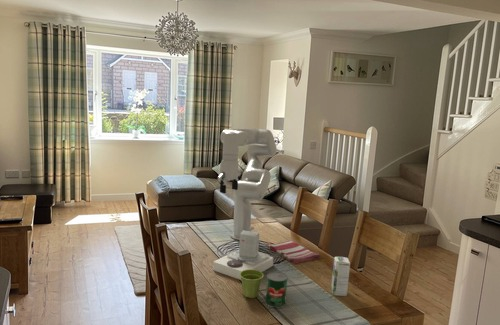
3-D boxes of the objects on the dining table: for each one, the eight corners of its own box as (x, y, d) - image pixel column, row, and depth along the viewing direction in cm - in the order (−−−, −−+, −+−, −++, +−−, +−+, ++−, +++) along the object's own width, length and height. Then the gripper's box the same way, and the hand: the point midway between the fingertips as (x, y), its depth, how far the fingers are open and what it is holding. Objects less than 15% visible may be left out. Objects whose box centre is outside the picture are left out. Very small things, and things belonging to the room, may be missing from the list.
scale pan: (243, 248, 202) (243, 246, 202) (269, 256, 194) (269, 254, 194) (226, 256, 191) (227, 254, 191) (253, 265, 183) (254, 263, 183)
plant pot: (245, 302, 159) (246, 281, 158) (234, 291, 168) (235, 271, 166) (266, 298, 164) (267, 277, 162) (255, 287, 172) (256, 267, 170)
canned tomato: (270, 309, 155) (272, 281, 153) (261, 299, 162) (263, 273, 160) (289, 306, 158) (291, 279, 156) (279, 296, 165) (281, 270, 164)
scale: (241, 255, 204) (242, 246, 204) (272, 265, 194) (273, 256, 194) (213, 270, 186) (213, 260, 186) (245, 281, 177) (246, 271, 176)
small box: (258, 253, 194) (259, 232, 192) (255, 258, 189) (256, 236, 187) (242, 251, 196) (243, 230, 195) (238, 255, 191) (239, 233, 189)
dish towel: (294, 265, 197) (294, 259, 197) (266, 248, 217) (266, 243, 216) (320, 258, 206) (321, 253, 206) (291, 243, 226) (291, 238, 225)
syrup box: (330, 288, 174) (333, 256, 171) (344, 289, 174) (347, 257, 171) (332, 295, 168) (335, 261, 166) (347, 296, 168) (350, 262, 166)
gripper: (234, 154, 213) (233, 187, 216) (213, 158, 199) (211, 192, 202) (246, 156, 209) (245, 189, 212) (225, 160, 195) (224, 195, 198)
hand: (228, 191), depth 207 cm, fingers open, 9 cm apart
